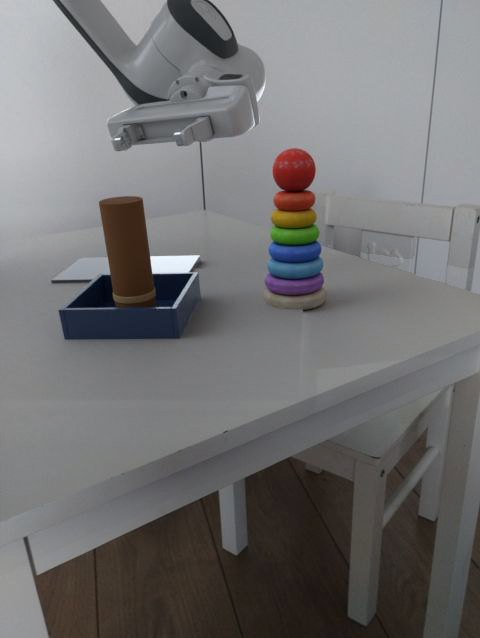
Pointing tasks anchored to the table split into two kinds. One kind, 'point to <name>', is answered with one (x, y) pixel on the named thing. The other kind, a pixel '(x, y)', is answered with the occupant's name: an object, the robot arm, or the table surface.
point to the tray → (131, 310)
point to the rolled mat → (128, 251)
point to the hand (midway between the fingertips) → (147, 142)
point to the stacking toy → (294, 237)
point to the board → (92, 267)
